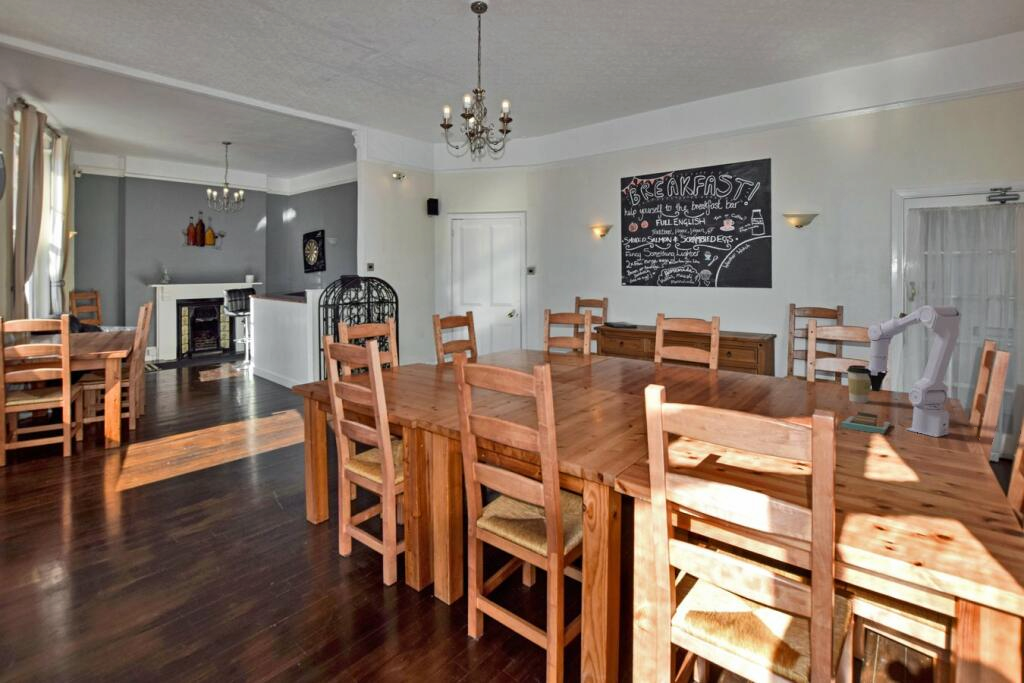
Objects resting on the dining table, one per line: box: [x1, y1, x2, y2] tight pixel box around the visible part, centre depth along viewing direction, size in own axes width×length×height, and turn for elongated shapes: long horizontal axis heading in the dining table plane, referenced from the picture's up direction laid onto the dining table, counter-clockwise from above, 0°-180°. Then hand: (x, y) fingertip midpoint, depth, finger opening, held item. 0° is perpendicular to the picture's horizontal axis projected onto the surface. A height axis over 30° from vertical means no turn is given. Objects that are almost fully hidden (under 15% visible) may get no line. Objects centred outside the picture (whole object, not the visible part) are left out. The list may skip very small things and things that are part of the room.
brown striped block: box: [853, 411, 879, 427], centre depth 189 cm, size 7×6×4 cm
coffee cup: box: [846, 364, 872, 404], centre depth 225 cm, size 10×10×15 cm
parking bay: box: [840, 415, 891, 435], centre depth 190 cm, size 14×12×2 cm
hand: (875, 390), depth 205 cm, fingers closed
